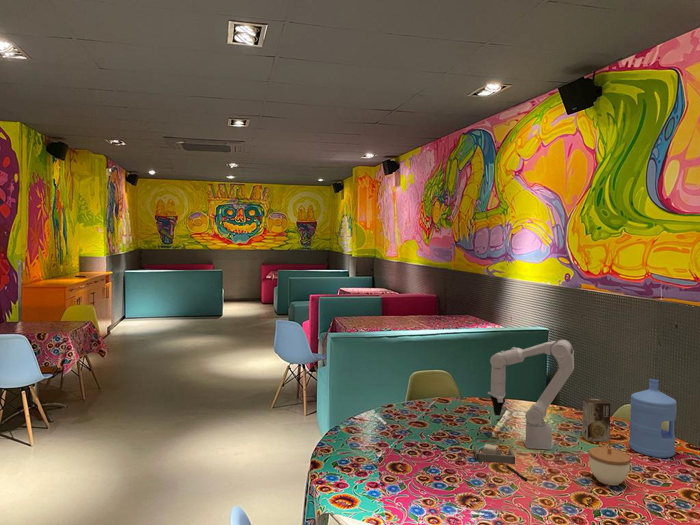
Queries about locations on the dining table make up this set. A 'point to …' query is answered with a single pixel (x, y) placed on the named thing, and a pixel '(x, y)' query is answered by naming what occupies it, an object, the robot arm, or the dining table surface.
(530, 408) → the robot arm
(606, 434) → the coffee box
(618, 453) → the lidded bowl
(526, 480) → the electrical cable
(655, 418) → the water jug
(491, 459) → the charging bay
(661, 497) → the dining table surface
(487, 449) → the usb wall charger
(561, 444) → the dining table surface
